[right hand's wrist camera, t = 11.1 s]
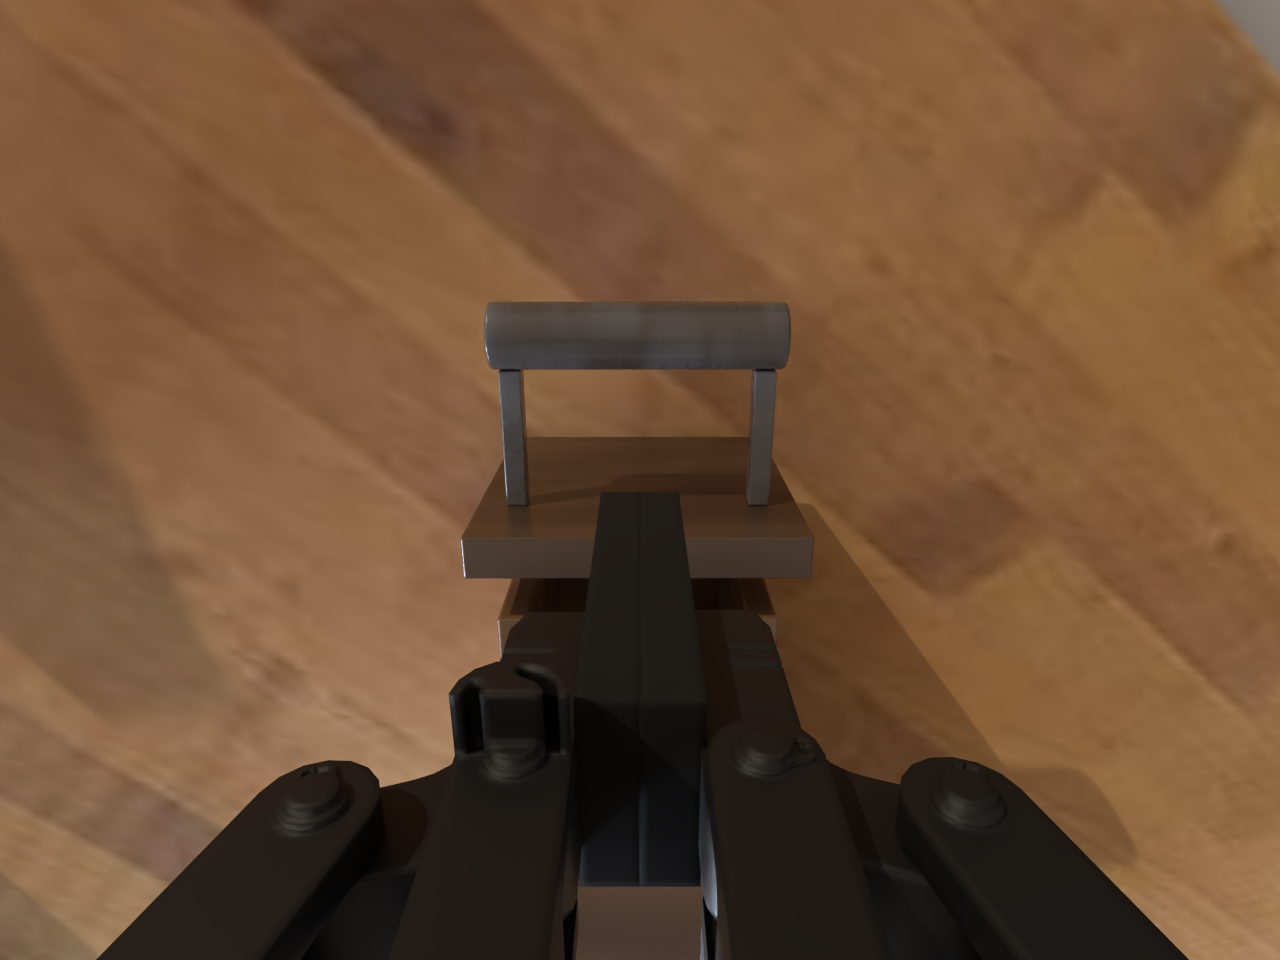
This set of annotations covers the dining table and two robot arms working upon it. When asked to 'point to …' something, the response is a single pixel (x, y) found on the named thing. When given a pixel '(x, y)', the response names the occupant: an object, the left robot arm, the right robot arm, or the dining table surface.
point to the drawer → (636, 457)
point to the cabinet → (639, 923)
